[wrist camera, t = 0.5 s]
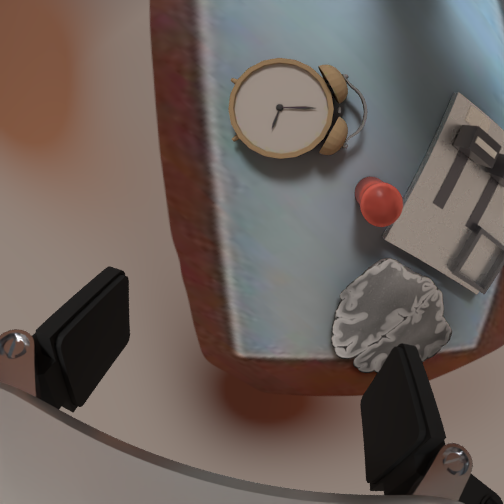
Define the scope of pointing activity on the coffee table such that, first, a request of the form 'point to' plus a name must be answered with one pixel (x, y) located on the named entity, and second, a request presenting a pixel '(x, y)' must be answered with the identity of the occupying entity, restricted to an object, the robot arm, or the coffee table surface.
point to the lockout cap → (378, 201)
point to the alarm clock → (289, 108)
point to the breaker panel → (455, 205)
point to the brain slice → (388, 316)
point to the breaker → (498, 170)
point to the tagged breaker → (477, 145)
